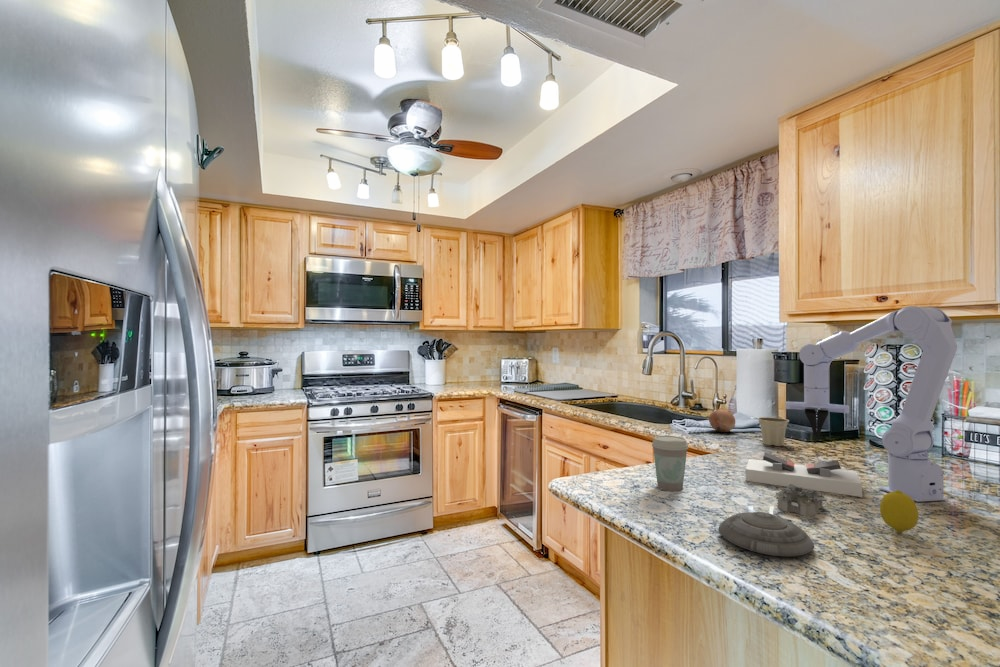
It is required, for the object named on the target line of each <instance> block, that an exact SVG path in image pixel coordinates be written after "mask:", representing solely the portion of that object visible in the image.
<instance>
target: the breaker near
mask: <svg viewBox="0 0 1000 667" xmlns="http://www.w3.org/2000/svg"><path fill="white" fill-rule="evenodd" d="M840 464H841V463H840V462H839V460H838V459H836V460H832V461H828V462H822V463H817V462H816V463H810V464H808V463H807V464H806V465H805V466H806V467H807V471H808V473H815V472H820V468H824V469H830V470H836V469H841V468H842V467H841V465H840Z"/></svg>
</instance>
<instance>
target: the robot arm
mask: <svg viewBox="0 0 1000 667" xmlns="http://www.w3.org/2000/svg"><path fill="white" fill-rule="evenodd" d="M952 321H953V319H951V318H950V317H949V315H947V313H946V312H944V311H943V310H942V309H940V308H938V307H933V306H928V307H924V306H916V305H908V306H904V307H902V308H900V309H899V310H894V311H891V312H889V313H888V314H886V315H883V316H881V317H879V318H877V319H876V320H874V321H872V322H869V323H867V324H865V325H863V326H861V327H859V328H857V329H856V330H853V331H852V332H850V331H847V330H843V331H841V330H836V331H834V332H832V333H833V335H830V336H829V337H826V338H824V339H823V338H822V339H818V340H817V341H816V344H814V343H807V344H806V343H805V345H804V346H803V347H801V348H800V350H799V354H798V357H799V359H800V361H801V363H803V389H804V390H803V398H804V399H803V401H785V410H801V411H804V415H805V416H806V418H807V421H808V422H809V425H810V427H811V431H812V434H813V439H814V438H815V439H817V438H818V439H820V438H821V437H820V436H821V432H822V429H823V426H824V424H825V421H826V420H827V418H828V415H829V413H830V412H831V413H842V414H850V406H849V405H848V404H836V403H830V374H829V373H830V371H829V370H830V364H831V363H833V360H835V359H838V358H840V357H843V356H845V355H848V354H850V353H853V352H855V351H857V350H858V348H859V345H860V344H861V343H864V342H866V341H869V340H872V339H875V338H877V337H880V336H883V335H885V334H888V333H891V332H901V333H902V334H905V335H906V336H907V337H909V338H911V339H912V340H914V341H915V343H916V344H917V345H918V346H919V347H920V349H922V353H921V356H920V358H919V362H918V364H917V367H916V370H915V373H914V376H913V379H912V382H911V384H910V387H909V389H908V393H907V396H906V399H905V400H904V401H905V402H904V404H903V407H902V409H901V411H900V412H901V413H900V414H899V415H898V416H897V417H896V418H895V419H894V420H893V421H892V422H891V426H890V428H888V429H887V430H886V431H885V432H884V433H883V435H882V437H881V442H882V446H883V447H884V449H885V450H886V451H887V460H888V461H887V464H888V466H887V468H888V469H887V470H888V471H887V472H888V474H887V475H888V477H887V478H888V482H887V483H888V485H887V486H878V489H879V490H881V491H884V492H887V493H890V492H895V491H896V490H899V491H901V492H902V493H904V494H906V495H908V496H909V497H910V498H912V499H913V501H914V502H919V503H920V502H936V501H947V500H948V499H947V497H946V496H945V497H944V495H945V493H944V491H945V490H944V471H943V469H942V467H941V466H940V465H939V464H938V463H937V462H933V461H931V460H930V459H929V454H928V451H930V450H931V449H933V446H934V443H935V442H934V440H935V439H934V437H933V433H934V432H933V431H934V428H935V426H934V424H933V423H932V421H931V420H932V417H933V415H934V413H935V409H936V406H937V404H938V402H939V398H940V396H941V393H942V390H943V388H944V384H945V382H946V380H947V377H948V374H949V371H950V369H951V366H952V364H953V361H954V358H955V355H956V352H957V349H958V345H957V341H956V337H955V335H954V332H953V329H952V328H953V327H952Z"/></svg>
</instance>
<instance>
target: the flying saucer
mask: <svg viewBox="0 0 1000 667" xmlns="http://www.w3.org/2000/svg"><path fill="white" fill-rule="evenodd" d="M718 532H719V534H720V535H721V536H722V537H723V538H724V539H725V540H726V541H728V542H729V543H732V544H733V545H736V546H737V547H739V548H742V549H744V550H747V551H751V552H754V553H757V554H762V555H767V556H774V557H798V556H803V555H806V554H808V553H811V552H812V551H813V550H814V549H815V544H814V542H813V539H812V538H811V537H810V536H809V535H808V534H807V532H806V531H805V530H803V529H802V528H801V527H800V526H798V525H797V524H795V523H793V522H792V521H790V520H788V519H786V518H783V517H780V516H777V515H775V514H772V513H768V512H764V511H752V512H751V511H749V512H740V513H736V514H733V515H731V516H729V517H727V518H726V519H724V520H723V521H722V522H721V523H720V525H719V526H718Z"/></svg>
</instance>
